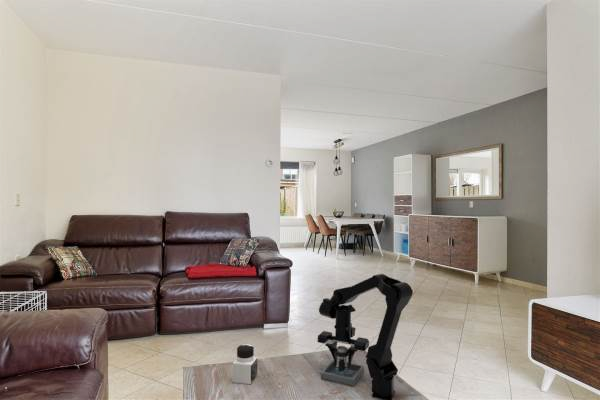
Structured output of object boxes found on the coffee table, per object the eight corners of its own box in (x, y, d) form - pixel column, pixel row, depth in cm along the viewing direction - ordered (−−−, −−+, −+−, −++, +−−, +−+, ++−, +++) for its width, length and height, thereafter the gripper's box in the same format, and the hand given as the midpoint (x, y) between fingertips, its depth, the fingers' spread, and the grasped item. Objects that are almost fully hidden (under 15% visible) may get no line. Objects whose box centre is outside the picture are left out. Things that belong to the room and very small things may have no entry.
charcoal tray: (364, 372, 141) (364, 365, 141) (353, 386, 130) (353, 379, 130) (333, 365, 147) (333, 359, 147) (320, 379, 135) (320, 372, 136)
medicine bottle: (251, 384, 131) (251, 350, 131) (232, 382, 132) (232, 349, 133) (257, 375, 138) (257, 343, 138) (239, 373, 139) (239, 341, 140)
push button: (351, 371, 141) (351, 345, 141) (353, 378, 136) (353, 350, 135) (333, 371, 141) (334, 345, 141) (335, 377, 135) (335, 350, 135)
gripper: (373, 319, 142) (373, 360, 141) (328, 312, 150) (327, 351, 150) (364, 328, 132) (364, 372, 131) (317, 320, 140) (316, 361, 140)
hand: (342, 363), depth 138 cm, fingers open, 5 cm apart
